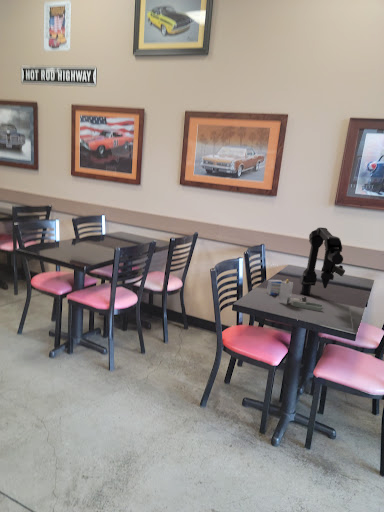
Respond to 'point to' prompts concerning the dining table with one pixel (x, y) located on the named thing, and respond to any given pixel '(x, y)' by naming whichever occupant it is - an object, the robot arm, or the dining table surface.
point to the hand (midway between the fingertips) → (324, 288)
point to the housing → (285, 292)
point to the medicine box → (273, 287)
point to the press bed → (309, 306)
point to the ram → (299, 300)
